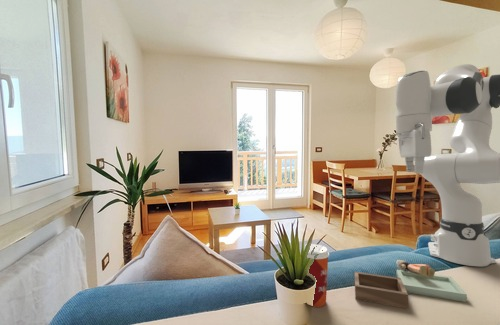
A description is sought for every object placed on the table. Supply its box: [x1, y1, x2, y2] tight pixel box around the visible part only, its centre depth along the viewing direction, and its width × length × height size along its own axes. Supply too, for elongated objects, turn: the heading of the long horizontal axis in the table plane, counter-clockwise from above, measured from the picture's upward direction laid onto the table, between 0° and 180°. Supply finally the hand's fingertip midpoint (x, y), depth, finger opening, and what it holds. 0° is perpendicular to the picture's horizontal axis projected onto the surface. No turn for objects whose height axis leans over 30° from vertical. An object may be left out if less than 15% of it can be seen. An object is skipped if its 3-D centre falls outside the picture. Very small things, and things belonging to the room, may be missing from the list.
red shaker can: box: [304, 243, 330, 308], centre depth 64 cm, size 8×8×14 cm
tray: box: [396, 269, 468, 303], centre depth 69 cm, size 10×14×2 cm
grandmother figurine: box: [395, 259, 436, 278], centre depth 75 cm, size 8×4×13 cm
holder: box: [354, 271, 409, 310], centre depth 66 cm, size 9×12×4 cm
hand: (414, 172), depth 72 cm, fingers open, 8 cm apart
